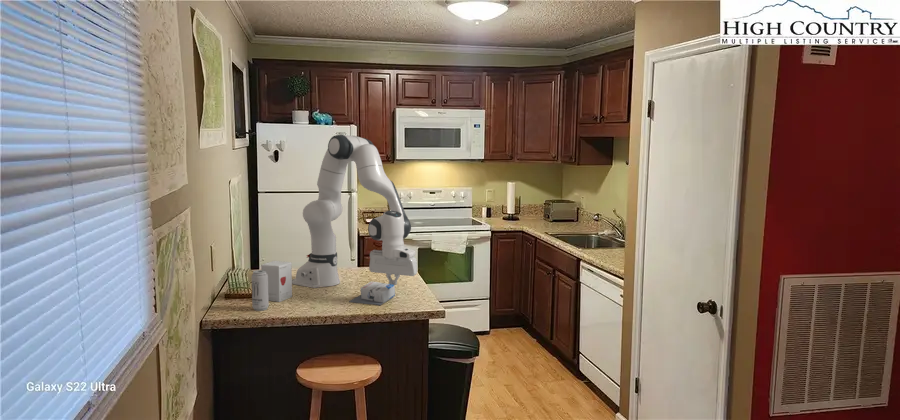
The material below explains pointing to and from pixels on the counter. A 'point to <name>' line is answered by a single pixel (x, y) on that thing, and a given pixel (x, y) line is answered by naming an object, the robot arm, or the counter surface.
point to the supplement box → (278, 280)
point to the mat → (366, 301)
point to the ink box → (377, 291)
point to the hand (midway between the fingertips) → (392, 284)
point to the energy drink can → (260, 290)
